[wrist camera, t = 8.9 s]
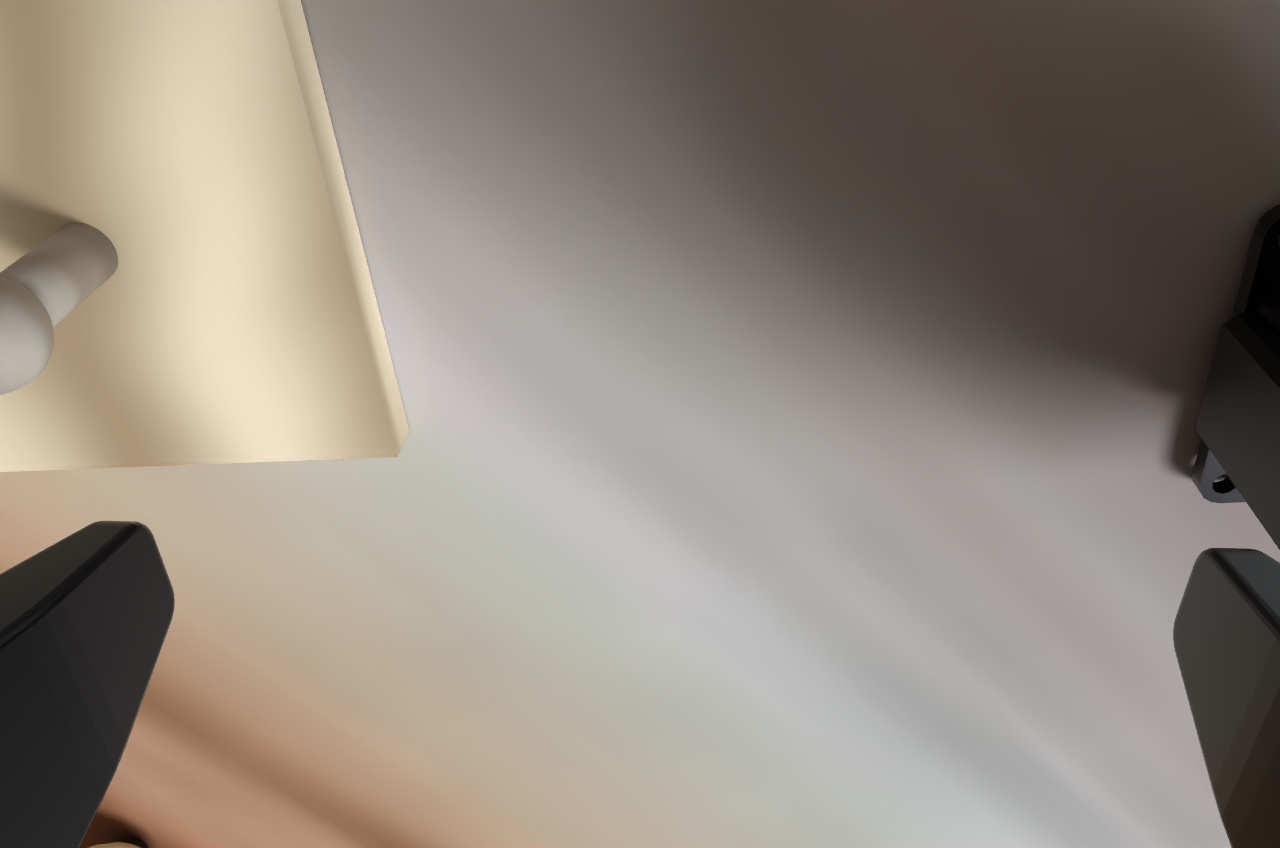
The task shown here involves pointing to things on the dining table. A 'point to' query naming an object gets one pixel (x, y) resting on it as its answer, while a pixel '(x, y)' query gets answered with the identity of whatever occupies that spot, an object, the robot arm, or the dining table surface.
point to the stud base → (179, 244)
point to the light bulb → (123, 844)
